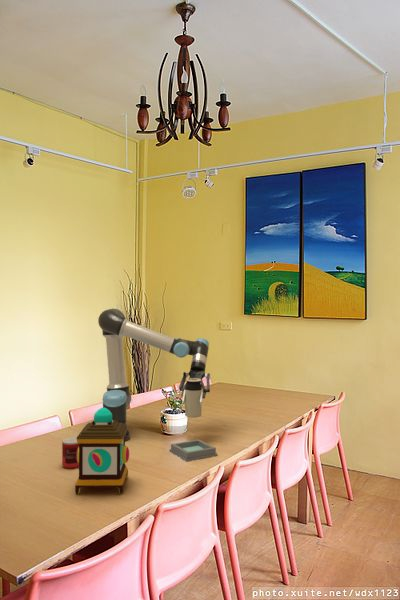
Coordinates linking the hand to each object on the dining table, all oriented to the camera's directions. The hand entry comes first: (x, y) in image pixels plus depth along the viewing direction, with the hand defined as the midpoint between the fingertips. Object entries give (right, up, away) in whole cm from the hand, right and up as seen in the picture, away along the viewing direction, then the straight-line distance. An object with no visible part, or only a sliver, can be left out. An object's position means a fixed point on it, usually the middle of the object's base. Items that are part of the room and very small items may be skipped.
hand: (192, 402), depth 244 cm
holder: (+1, -21, -12) cm, 24 cm away
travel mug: (0, -7, +3) cm, 8 cm away
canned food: (-50, -21, -30) cm, 62 cm away
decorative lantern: (-33, -21, -51) cm, 65 cm away
